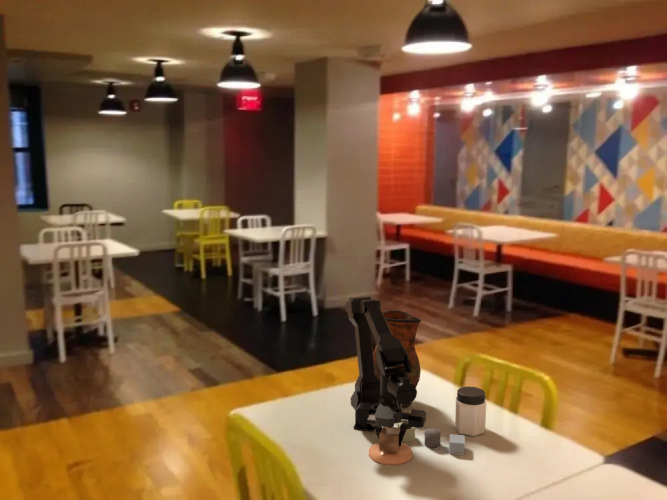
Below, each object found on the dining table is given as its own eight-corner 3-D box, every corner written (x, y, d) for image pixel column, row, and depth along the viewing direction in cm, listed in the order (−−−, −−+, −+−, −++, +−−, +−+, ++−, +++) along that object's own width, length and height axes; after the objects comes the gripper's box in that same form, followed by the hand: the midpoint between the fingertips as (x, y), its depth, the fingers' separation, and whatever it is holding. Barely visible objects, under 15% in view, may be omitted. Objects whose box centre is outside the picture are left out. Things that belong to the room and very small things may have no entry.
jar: (469, 438, 181) (470, 399, 179) (449, 428, 188) (450, 390, 186) (490, 431, 186) (492, 392, 184) (470, 421, 192) (472, 384, 190)
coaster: (363, 461, 168) (363, 458, 168) (374, 441, 180) (374, 438, 179) (407, 468, 165) (407, 465, 164) (416, 447, 176) (416, 444, 176)
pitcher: (411, 416, 196) (413, 323, 191) (349, 405, 205) (349, 316, 200) (426, 397, 211) (428, 310, 206) (367, 388, 219) (367, 304, 215)
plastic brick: (449, 454, 172) (449, 442, 172) (449, 445, 177) (450, 434, 176) (464, 455, 171) (464, 443, 171) (464, 447, 176) (464, 435, 176)
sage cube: (401, 441, 179) (401, 428, 179) (397, 435, 183) (397, 422, 183) (414, 440, 180) (415, 427, 180) (410, 434, 184) (410, 421, 183)
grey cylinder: (423, 447, 176) (423, 434, 175) (425, 440, 180) (426, 427, 179) (438, 449, 175) (439, 436, 174) (441, 442, 179) (441, 429, 178)
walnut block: (379, 450, 170) (379, 433, 169) (383, 442, 175) (383, 425, 174) (397, 453, 169) (397, 436, 168) (401, 445, 173) (401, 428, 172)
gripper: (349, 397, 165) (349, 452, 167) (419, 406, 159) (418, 463, 161) (360, 382, 175) (360, 434, 177) (427, 390, 169) (426, 444, 172)
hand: (390, 444), depth 172 cm, fingers closed on walnut block, 5 cm apart
